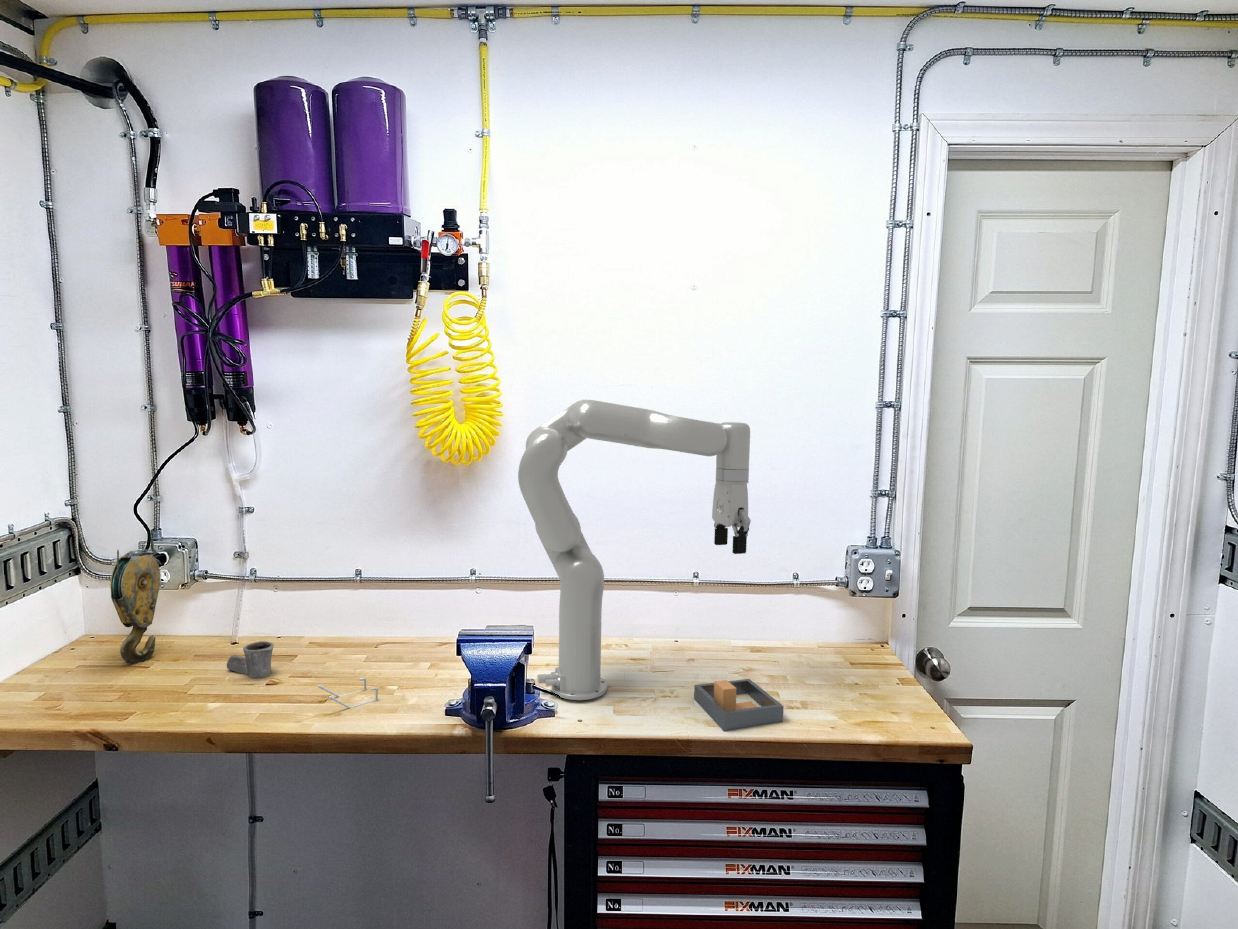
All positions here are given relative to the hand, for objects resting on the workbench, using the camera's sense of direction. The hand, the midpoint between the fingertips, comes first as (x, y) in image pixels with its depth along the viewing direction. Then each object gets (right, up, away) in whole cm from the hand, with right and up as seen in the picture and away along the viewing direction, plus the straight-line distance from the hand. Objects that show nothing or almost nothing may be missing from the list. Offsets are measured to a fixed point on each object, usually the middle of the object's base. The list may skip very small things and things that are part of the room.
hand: (729, 548), depth 169 cm
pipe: (-114, -31, +4) cm, 118 cm away
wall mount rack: (-85, -33, -10) cm, 92 cm away
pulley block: (-145, -30, +11) cm, 148 cm away
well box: (0, -35, -13) cm, 37 cm away
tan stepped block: (0, -34, -13) cm, 37 cm away
